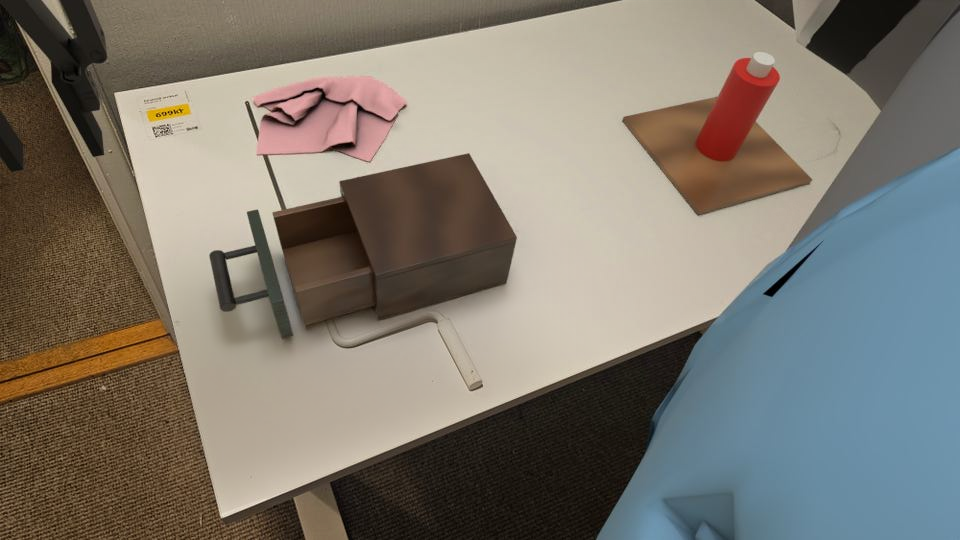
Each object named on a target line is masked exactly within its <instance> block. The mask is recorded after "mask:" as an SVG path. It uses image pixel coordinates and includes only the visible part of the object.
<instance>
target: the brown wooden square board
mask: <svg viewBox="0 0 960 540" xmlns="http://www.w3.org/2000/svg"><path fill="white" fill-rule="evenodd" d="M717 97H718V96H713V97H710V98H709V97H708V98H704V99H700V100H694V101H691V102H685V103H681V104H676V105H672V106H667V107H661V108H658V109H652V110H647V111H643V112H640V113H635V114H629V115H625V116H623V117H622V122H623V124H624V125H625V126H626V127H627V129H628V130H629V132H631V134H632V135H633V136H634V137H635V139H636V140H637V141H638V142H639V144H640V145H641V146H642V147H643V148H644V150H645V151H646V153H647V154H648V155H649V156H650V157H651V159H652V160H653V161H654V163H655V164H656V165H657V167H659V169H660V170H661V171H662V173H663V174H664V175H665V176H666V178H667V179H668V180H669V181H670V182H671V184H672V185H673V186H674V187H675V189H676V190H677V192H678V193H679V194H680V195H681V197H682V198H683V199H684V200H685V201H686V202H687V204H688V205H689V206H690V207H691V209H692V210H693V211H694V212H695V214H696V215H697V216H701V215H704V214H708V213H712V212H715V211H718V210H723V209H725V208H729V207H733V206H735V205H740V204H742V203H746V202H749V201H753V200H757V199H760V198H763V197H767V196H771V195H775V194H777V193H781V192H784V191H789V190H792V189H794V188H799V187H802V186H806V185H809V184H811V183H812V182H813V178H812V177H811V176H810V175H809V174H808V173H807V172H806V171H805V170H804V169H803V167H801V166H800V165H799V164H798V163H797V162H796V161H795V159H793V157H791V155H789V154H788V153H787V152H786V151H785V149H783V148H782V146H781V145H780V144H779V143H778V142H777V141H776V140H775V139H774V138H772V136H771V135H770V134H768V132H767V131H766V130H765V129H764V128H763V127H762V126H761V125H760V124H759V123H758V121H757V120H756V121H755V123H754V125H753V127H752V128H751V130H750V132H749V133H748V135H747V137H746V139H745V140H744V142H743V144H742V145H741V147H740V149H739V151H738V152H737V154H736V156H735V157H734V158H733V159H731V160H729V161H716V160H712V159H710V158H708V157H706V156H704V155H703V154H702V153H701V152H700V151H699V150H698V148H697V146H696V139H697V137H698V135H699V133H700V131H701V129H702V127H703V125H704V123H705V121H706V119H707V117H708V115H709V113H710V111H711V109H712V107H713V105H714V103H715V101H716V99H717Z"/></svg>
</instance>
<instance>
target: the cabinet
mask: <svg viewBox="0 0 960 540" xmlns="http://www.w3.org/2000/svg"><path fill="white" fill-rule="evenodd" d="M338 183H339V190H340V191H339V192H340V197H343V196H344V198H345V201H346V203H347V206H348V209H349V211H350V214H351V216H352V219H353V221H354V224H355V227H356V229H357V232H358V234H359V237H360V240H361V242H362V245H363V247H364V250H365V253H366V255H367V258H368V260H369V263H370V265H371V268H372V271H373V273H374V284H375V298H376V305H375V306H372V307H373V309H374V312H375V316H376V318H377V320H378V321H382V320H383V321H384V320H387V319H389V318H393V317H398V316H400V315H403V314H406V313H410V312H414V311H416V310H417V311H418V310H420V309H423V308H424V309H425V308H428V307H431V306H433V305H438V304H441V303H444V302H448V301H451V300H455V299H458V298H461V297H465V296H468V295H472V294H475V293H478V292H482V291H486V290H488V289H492V288H496V287H500V286H503V285H505V284H507V283H508V278H509V274H510V270H511V266H512V261H513V257H514V253H515V248H516V243H517V239H518V236H517V235H516V233H515V231H514V229H513V228H512V225H511V224H510V222H509V221H508V218H507V217H506V215H505V214H504V212H503V210H502V208H501V206H500V205H499V203H498V201H497V199H496V198H495V196H494V194H493V192H492V191H491V189H490V187H489V185H488V184H487V182H486V180H485V178H484V177H483V175H482V173H481V171H480V170H479V168H478V167H477V164H476V162H475V161H474V159H473V156H471V154H470V152H467V153H463V154H458V155H453V156H449V157H444V158H439V159H435V160H431V161H425V162H422V163H417V164H416V163H415V164H412V165H408V166H402V167H398V168H394V169H393V168H392V169H389V170H383V171H379V172H375V173H369V174H367V175H362V176H357V177H353V178H348V179H343V180H339V182H338Z"/></svg>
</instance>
